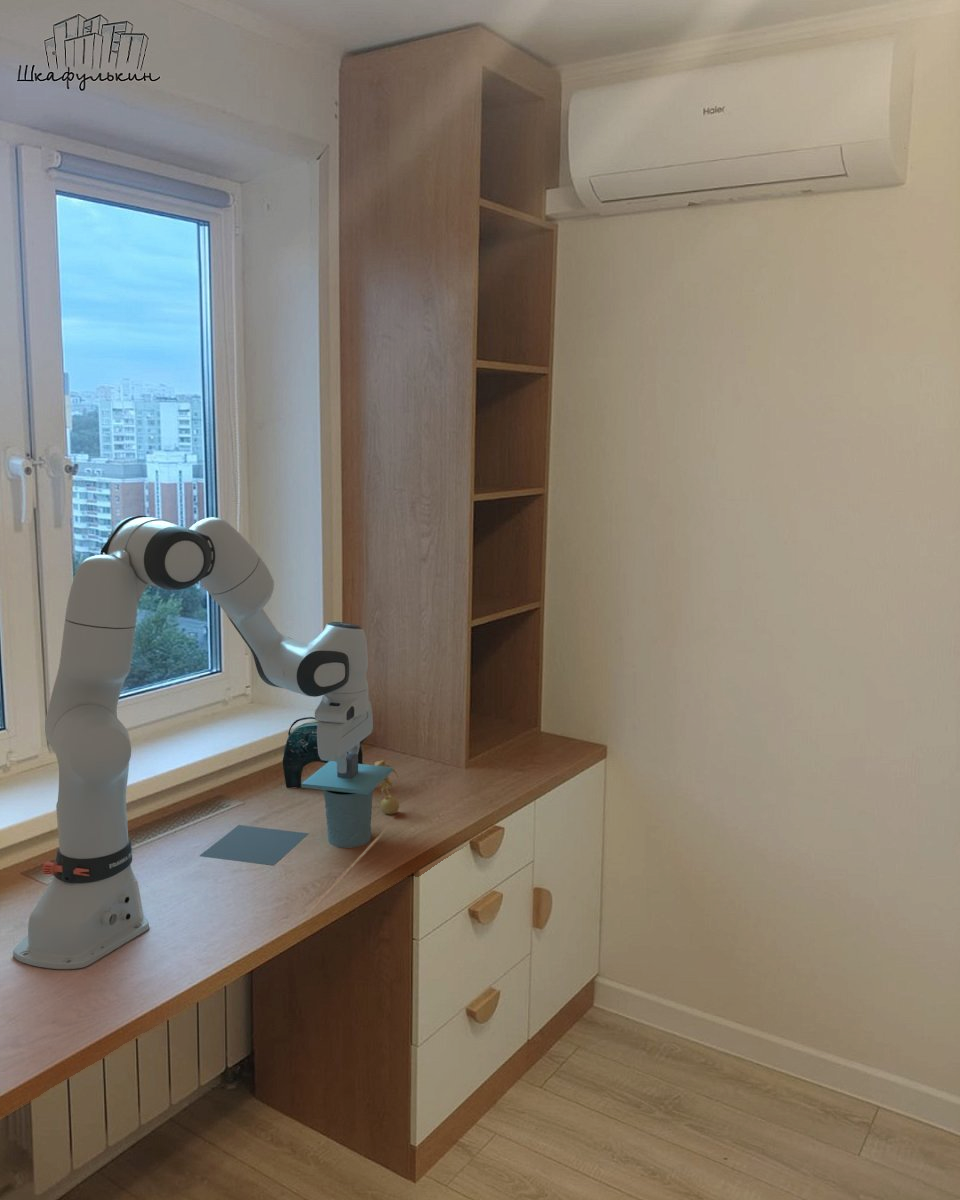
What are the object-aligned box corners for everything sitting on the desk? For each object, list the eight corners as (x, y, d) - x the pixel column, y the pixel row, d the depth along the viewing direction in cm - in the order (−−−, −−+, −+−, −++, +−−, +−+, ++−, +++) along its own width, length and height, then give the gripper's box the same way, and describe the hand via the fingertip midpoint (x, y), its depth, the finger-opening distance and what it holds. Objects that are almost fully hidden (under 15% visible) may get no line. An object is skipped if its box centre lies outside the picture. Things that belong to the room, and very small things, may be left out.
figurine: (383, 822, 228) (382, 768, 226) (363, 815, 232) (362, 762, 230) (409, 810, 235) (408, 758, 232) (388, 804, 238) (388, 752, 236)
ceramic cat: (371, 784, 251) (369, 701, 247) (365, 794, 244) (363, 709, 241) (288, 780, 253) (285, 698, 249) (280, 790, 246) (277, 706, 243)
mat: (273, 868, 206) (273, 865, 206) (199, 858, 210) (199, 855, 210) (308, 836, 221) (308, 833, 221) (238, 827, 225) (238, 824, 225)
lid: (367, 794, 208) (367, 771, 207) (301, 787, 211) (300, 764, 210) (392, 770, 221) (392, 748, 220) (329, 764, 225) (329, 742, 224)
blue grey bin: (329, 854, 212) (328, 796, 210) (320, 834, 222) (318, 779, 219) (379, 847, 215) (378, 791, 213) (368, 828, 225) (367, 774, 223)
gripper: (351, 687, 224) (352, 750, 226) (310, 714, 204) (312, 783, 207) (380, 689, 222) (380, 753, 225) (341, 717, 203) (342, 787, 205)
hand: (347, 768), depth 216 cm, fingers closed on lid, 3 cm apart
